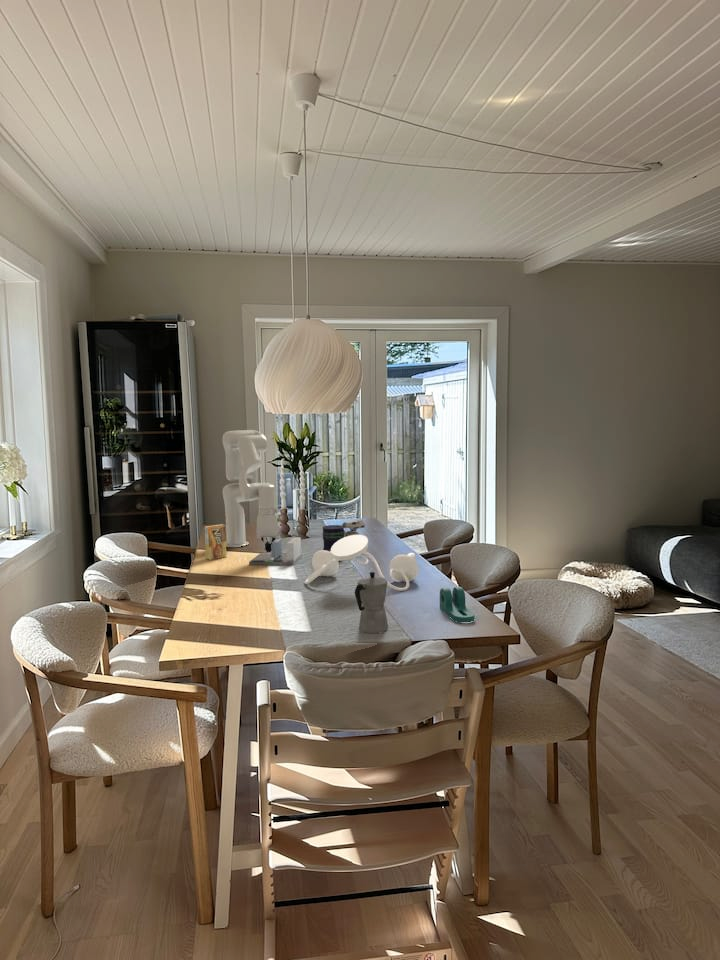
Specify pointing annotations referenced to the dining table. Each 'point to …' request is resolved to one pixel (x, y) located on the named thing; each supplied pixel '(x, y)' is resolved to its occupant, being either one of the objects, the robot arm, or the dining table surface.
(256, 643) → the dining table surface
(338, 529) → the storage jar
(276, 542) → the pressure plate
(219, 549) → the candy box
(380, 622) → the coffeepot
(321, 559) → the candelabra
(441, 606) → the bracket
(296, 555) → the gauge housing
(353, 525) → the figurine
